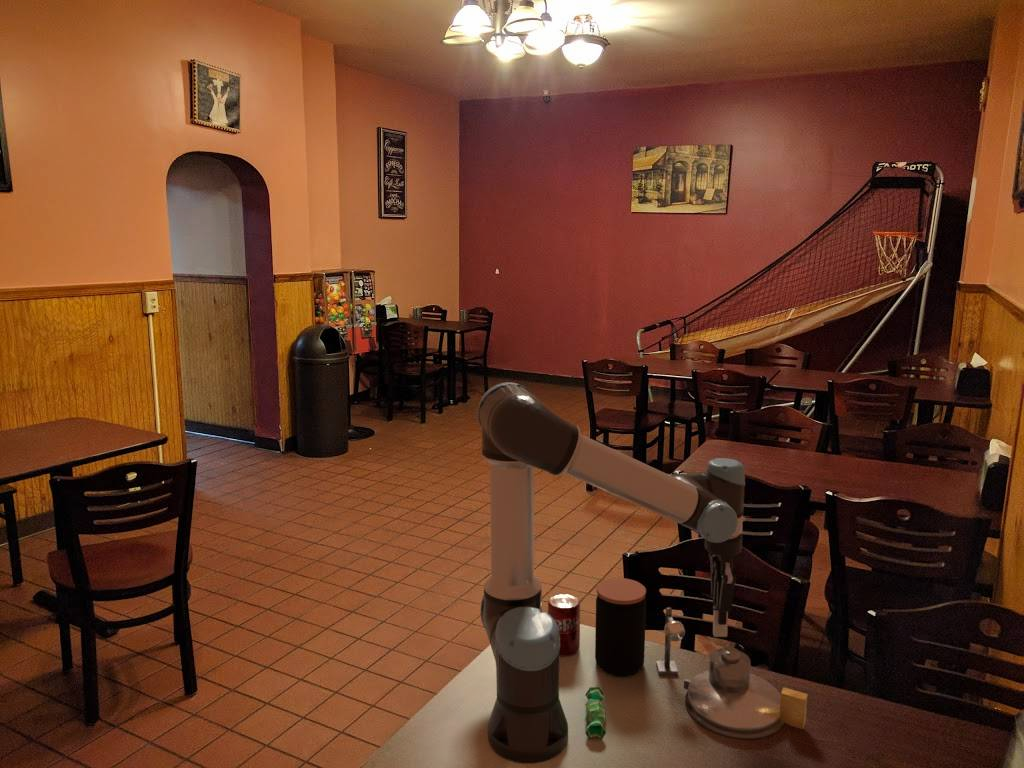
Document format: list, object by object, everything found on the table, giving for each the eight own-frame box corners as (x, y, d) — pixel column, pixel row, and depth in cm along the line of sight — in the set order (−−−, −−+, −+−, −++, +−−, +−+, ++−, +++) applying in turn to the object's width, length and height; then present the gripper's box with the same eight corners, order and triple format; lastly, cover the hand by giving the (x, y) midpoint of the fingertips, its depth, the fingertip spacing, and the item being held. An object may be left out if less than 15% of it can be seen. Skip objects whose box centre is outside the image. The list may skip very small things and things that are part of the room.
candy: (609, 737, 138) (597, 720, 137) (594, 745, 138) (581, 728, 138) (607, 698, 149) (596, 682, 149) (593, 706, 150) (582, 690, 150)
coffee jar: (642, 652, 167) (644, 578, 163) (645, 680, 157) (648, 601, 153) (594, 650, 168) (595, 576, 165) (595, 677, 158) (596, 599, 154)
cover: (713, 692, 147) (715, 662, 146) (704, 669, 155) (706, 641, 154) (754, 693, 147) (756, 663, 146) (743, 670, 155) (744, 641, 153)
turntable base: (696, 739, 138) (696, 736, 138) (676, 679, 157) (677, 677, 156) (799, 740, 137) (799, 737, 137) (767, 680, 156) (767, 677, 156)
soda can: (545, 641, 172) (545, 594, 169) (576, 639, 172) (576, 592, 170) (550, 659, 165) (550, 609, 162) (582, 657, 165) (583, 607, 163)
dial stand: (663, 689, 153) (665, 623, 150) (656, 664, 162) (658, 601, 159) (682, 689, 153) (685, 623, 150) (674, 664, 162) (676, 601, 159)
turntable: (698, 732, 138) (700, 704, 137) (679, 676, 156) (680, 650, 155) (812, 734, 138) (814, 705, 137) (780, 677, 155) (782, 651, 154)
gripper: (750, 544, 148) (746, 651, 153) (733, 520, 161) (729, 619, 166) (713, 545, 148) (709, 651, 153) (698, 520, 161) (695, 619, 166)
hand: (719, 634), depth 159 cm, fingers closed
